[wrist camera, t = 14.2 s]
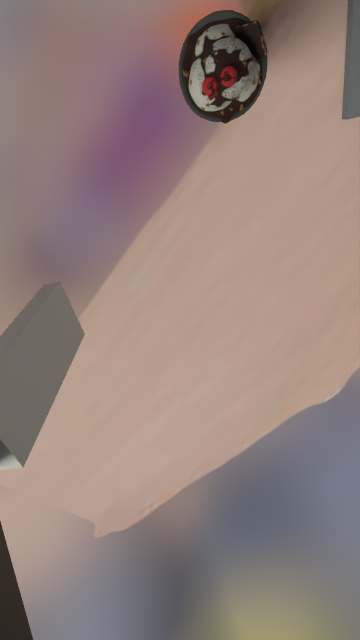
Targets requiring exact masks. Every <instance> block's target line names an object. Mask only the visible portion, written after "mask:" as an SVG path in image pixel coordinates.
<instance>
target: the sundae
mask: <svg viewBox="0 0 360 640" xmlns="http://www.w3.org/2000/svg"><path fill="white" fill-rule="evenodd" d="M266 71H267V48H266V43H265V39H264V36H263V34H262V31H261V27H260V23H259V22H258V21H257V20H256V21H251V20H250V19H249V18H248V17H246V16H244V15H242V14H241V13H238V12H235V11H233V10H223V11H217V12H213V13H211V14H209V15H208V16H206V17H204V18H203V19H202V20H200V21H199V22H198V23H197V24H196V25H195V26H194V27H193V28H192V29H191V31H190V32H189V34H188V35H187V37H186V39H185V41H184V43H183V47H182V50H181V54H180V60H179V79H180V86H181V89H182V93H183V96H184V98H185V101H186V102H187V104H188V105H189V107H190V108H191V109H192V111H193V112H194V113H195V114H197V115H198V116H200V117H201V118H204V119H206V120H209V121H213V122H223V123H228V122H229V121H231V120H233V119H235V118H238V117H239V116H241V115H243V114H244V113H245V112H247V111H248V110H249V109H250V108H251V106H252V105H253V104H254V103H255V101H256V100H257V98H258V96H259V94H260V92H261V90H262V87H263V84H264V81H265V78H266Z"/></svg>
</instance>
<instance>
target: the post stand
mask: <svg viewBox="0 0 360 640" xmlns="http://www.w3.org/2000/svg"><path fill="white" fill-rule="evenodd" d="M359 116H360V0H348V18H347V37H346V56H345V74H344V93H343V112H342V119H351V118H355V117H359Z"/></svg>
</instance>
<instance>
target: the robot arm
mask: <svg viewBox="0 0 360 640" xmlns="http://www.w3.org/2000/svg"><path fill="white" fill-rule="evenodd" d="M83 337H84V332H83V329H82V327H81V325H80V323H79V321H78V318H77V316H76V314H75V312H74V310H73V308H72V305H71V303H70V301H69V299H68V297H67V295H66V292H65V291H64V288H63V286H62V284H61V282H55V283H50V284H45V285H43V286H42V287H41V288H40V290H39V291H38V292H37V293H36V295H35V296H34V297H33V298H32V299H31V300H30V302H29V303H28V304H27V305H26V306H25V308H24V309H23V310H22V311H21V312H20V313H19V315H18V316H17V317H16V318H15V319H14V321H13V322H12V323H11V324H10V325H9V327H8V328H7V329H6V330H5V331H4V333H3V334H2V335H1V336H0V470H6V469H15V468H23V467H24V465H25V462H26V460H27V458H28V456H29V454H30V452H31V449H32V447H33V445H34V443H35V441H36V439H37V436H38V434H39V432H40V430H41V428H42V426H43V423H44V421H45V419H46V417H47V415H48V413H49V410H50V408H51V406H52V404H53V402H54V400H55V397H56V395H57V393H58V391H59V389H60V387H61V384H62V382H63V380H64V378H65V376H66V374H67V371H68V369H69V367H70V365H71V363H72V360H73V358H74V356H75V354H76V352H77V350H78V347H79V345H80V343H81V341H82V339H83ZM0 640H33V638H32V634H31V630H30V627H29V623H28V619H27V616H26V612H25V609H24V605H23V601H22V598H21V594H20V591H19V587H18V584H17V580H16V576H15V573H14V569H13V565H12V562H11V558H10V555H9V551H8V547H7V544H6V540H5V536H4V533H3V530H2V526H1V522H0Z"/></svg>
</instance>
